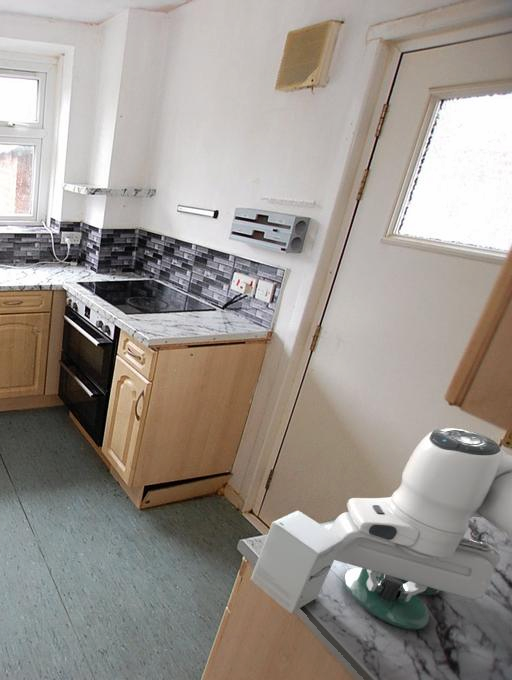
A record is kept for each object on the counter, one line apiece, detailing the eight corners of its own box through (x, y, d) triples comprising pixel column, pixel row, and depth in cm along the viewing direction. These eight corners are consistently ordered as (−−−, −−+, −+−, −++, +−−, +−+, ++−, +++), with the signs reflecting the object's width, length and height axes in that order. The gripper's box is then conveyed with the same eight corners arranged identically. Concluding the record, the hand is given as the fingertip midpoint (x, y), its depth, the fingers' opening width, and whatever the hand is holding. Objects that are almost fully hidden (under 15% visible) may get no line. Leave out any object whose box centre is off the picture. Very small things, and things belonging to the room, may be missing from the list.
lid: (407, 586, 79) (418, 565, 77) (440, 643, 69) (453, 620, 67) (333, 564, 82) (342, 544, 80) (355, 616, 72) (366, 594, 70)
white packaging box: (291, 616, 71) (318, 554, 67) (248, 579, 77) (270, 520, 73) (318, 599, 75) (345, 539, 70) (275, 565, 81) (297, 508, 76)
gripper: (492, 534, 70) (453, 600, 75) (338, 495, 76) (311, 559, 81) (520, 564, 64) (475, 634, 69) (351, 520, 70) (321, 587, 75)
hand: (386, 593), depth 75 cm, fingers closed on lid, 2 cm apart
